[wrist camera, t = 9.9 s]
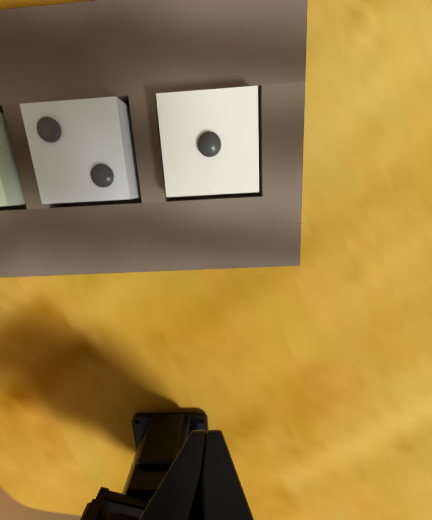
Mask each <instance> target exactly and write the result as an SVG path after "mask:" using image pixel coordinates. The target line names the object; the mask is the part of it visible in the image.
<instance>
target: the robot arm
mask: <svg viewBox="0 0 432 520" xmlns="http://www.w3.org/2000/svg"><path fill="white" fill-rule="evenodd" d="M200 419H203V420H200ZM132 426H133V432H134V438H135V444H136V449H137V451H136V454H135V457H134V460H133V463H132V466H131V469H130V472H129V475H128V478H127V481H126V484H125V487H124V489H123V492H122V494H121V493H117V492H113V491H109V489H108V488H104V487H101V489H100V491H99V493H98V495H97V497H96V499H93V500H92V502H90V503H88V504H87V506H86V508H85V510H84V513H83V515H82V517H81V519H80V520H254V519H253V516H252V513H251V511H250V508H249V505H248V502H247V500H246V497H245V494H244V491H243V489H242V486H241V483H240V480H239V478H238V475H237V472H236V469H235V467H234V464H233V461H232V458H231V455H230V453H229V450H228V447H227V444H226V442H225V439H224V436H223V433H222V431H221V430H208V418H207V415H206V414H204V413H138V414H135V415H134V416H133V419H132Z"/></svg>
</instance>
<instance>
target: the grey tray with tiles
mask: <svg viewBox="0 0 432 520" xmlns="http://www.w3.org/2000/svg"><path fill="white" fill-rule="evenodd" d="M306 34H307V0H94V1H84V2H73V3H63V4H53V5H43V6H33V7H22V8H12V9H2V10H0V112H1V113H4V116H5V120H6V124H7V129H8V133H9V137H10V141H11V145H12V149H13V154H14V158H15V162H16V166H17V170H18V174H19V178H20V183H21V187H22V191H23V195H24V199H25V203H26V204H22V205H13V206H0V277H25V276H50V275H75V274H100V273H125V272H150V271H175V270H200V269H225V268H250V267H275V266H300V243H301V208H302V173H303V138H304V104H305V69H306ZM246 86H258V138H259V192H252V193H234V194H216V195H198V196H180V197H166V188H165V179H164V169H163V159H162V149H161V140H160V130H159V120H158V110H157V100H156V93H169V92H181V91H194V90H207V89H220V88H233V87H246ZM115 96H116V97H117V98H119V99H120V100H121V101H123V102H124V103H125V104H127V105H128V106H129V107H130V113H131V121H132V129H133V137H134V145H135V153H136V161H137V169H138V177H139V184H140V192H141V197H140V198H134V199H126V200H108V201H90V202H72V203H54V204H42V202H41V197H40V193H39V188H38V184H37V179H36V175H35V170H34V166H33V162H32V157H31V153H30V148H29V144H28V139H27V135H26V130H25V126H24V121H23V117H22V113H21V108H20V104H24V103H37V102H50V101H63V100H76V99H89V98H102V97H115Z"/></svg>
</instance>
